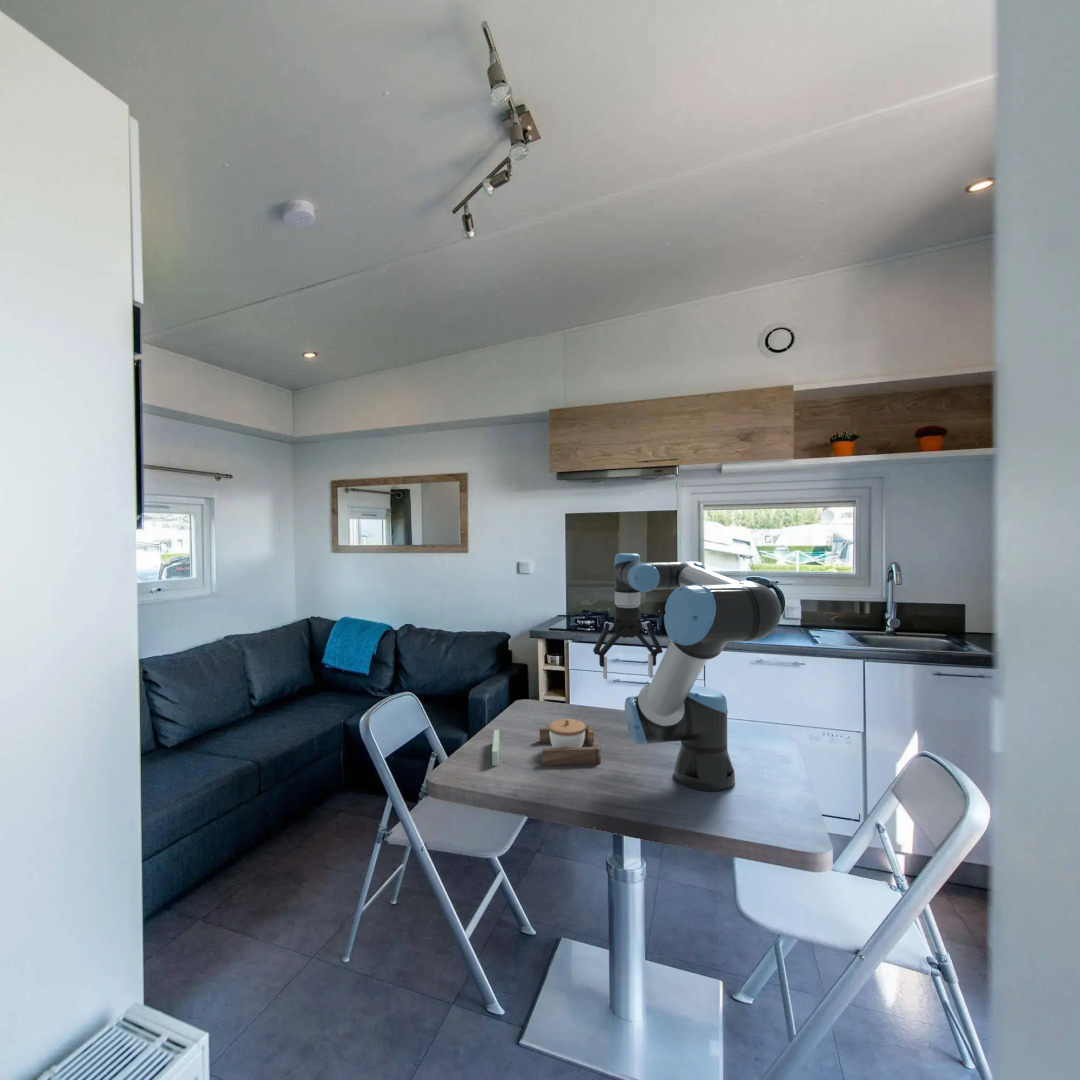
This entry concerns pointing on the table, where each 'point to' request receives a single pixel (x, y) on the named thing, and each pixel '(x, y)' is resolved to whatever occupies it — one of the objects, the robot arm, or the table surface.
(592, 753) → the cradle
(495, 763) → the rail
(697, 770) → the robot arm
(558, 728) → the lidded jar
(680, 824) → the table surface
